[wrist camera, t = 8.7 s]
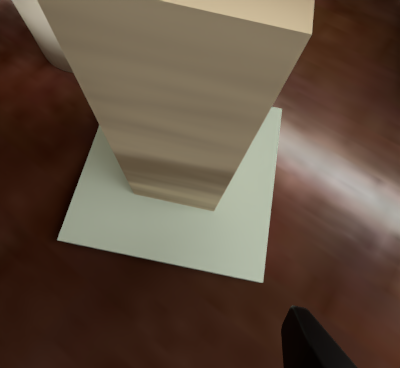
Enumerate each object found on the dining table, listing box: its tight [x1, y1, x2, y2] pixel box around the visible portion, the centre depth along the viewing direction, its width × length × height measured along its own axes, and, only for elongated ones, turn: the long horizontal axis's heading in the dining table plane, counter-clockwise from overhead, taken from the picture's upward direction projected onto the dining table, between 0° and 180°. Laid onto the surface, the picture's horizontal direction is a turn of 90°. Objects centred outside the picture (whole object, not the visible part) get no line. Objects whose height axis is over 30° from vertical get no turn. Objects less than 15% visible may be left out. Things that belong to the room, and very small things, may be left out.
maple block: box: [37, 0, 315, 211], centre depth 12 cm, size 5×5×13 cm
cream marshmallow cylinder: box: [12, 0, 73, 73], centre depth 20 cm, size 6×6×4 cm
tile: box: [57, 107, 282, 283], centre depth 18 cm, size 12×12×1 cm
